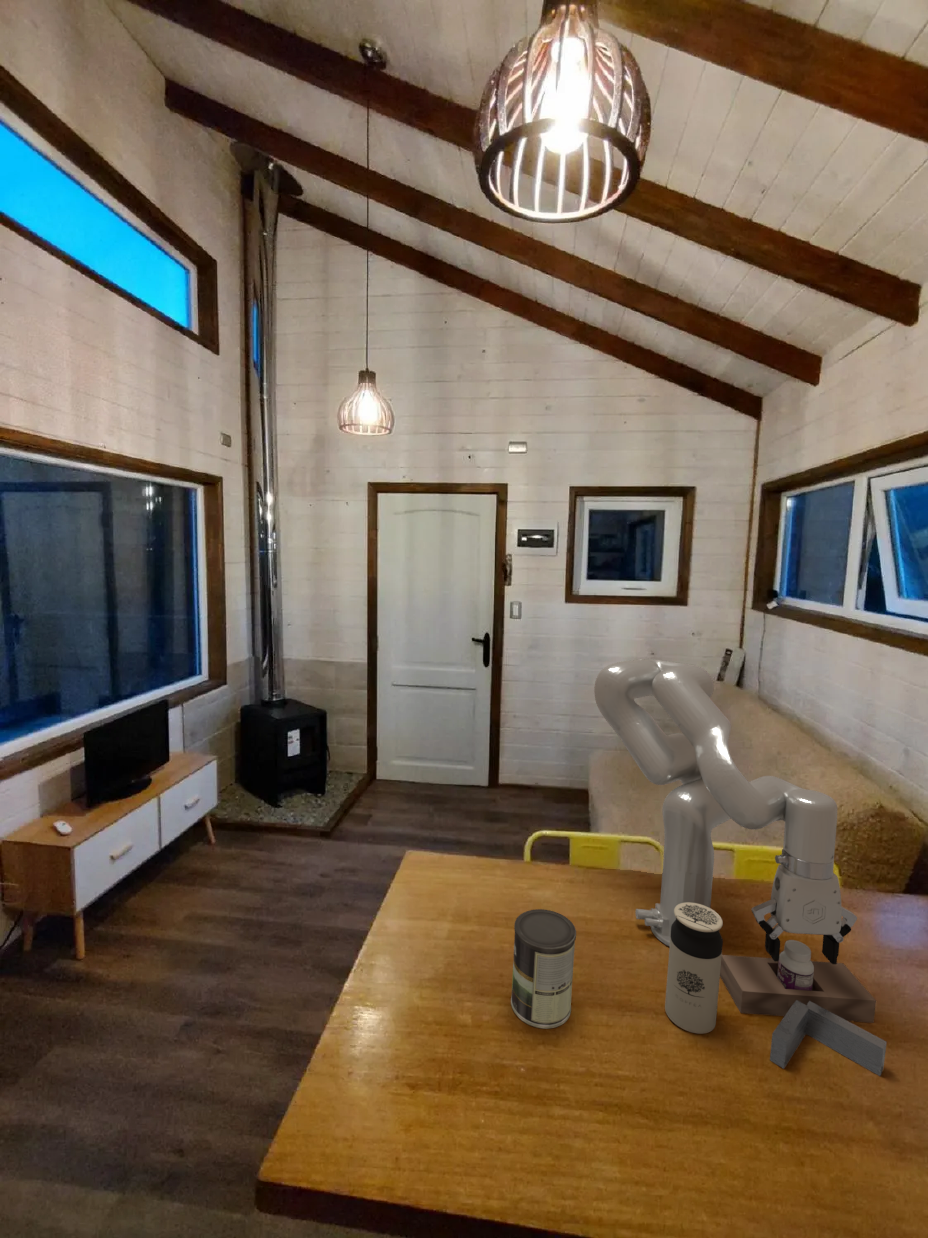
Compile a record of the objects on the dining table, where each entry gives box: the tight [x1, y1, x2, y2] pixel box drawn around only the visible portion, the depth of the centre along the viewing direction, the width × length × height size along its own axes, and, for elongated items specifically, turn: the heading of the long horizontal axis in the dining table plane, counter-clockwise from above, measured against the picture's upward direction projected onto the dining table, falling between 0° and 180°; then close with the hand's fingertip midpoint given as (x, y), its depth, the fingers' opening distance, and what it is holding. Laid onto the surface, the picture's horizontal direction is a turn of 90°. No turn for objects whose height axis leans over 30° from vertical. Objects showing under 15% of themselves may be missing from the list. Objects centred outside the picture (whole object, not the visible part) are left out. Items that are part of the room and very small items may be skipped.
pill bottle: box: [777, 939, 814, 991], centre depth 100 cm, size 5×5×10 cm
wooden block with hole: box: [720, 954, 877, 1024], centre depth 100 cm, size 22×9×4 cm, turn 87°
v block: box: [769, 1000, 888, 1077], centre depth 90 cm, size 17×9×4 cm, turn 87°
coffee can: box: [510, 908, 577, 1030], centre depth 96 cm, size 10×10×14 cm
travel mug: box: [664, 902, 724, 1034], centre depth 95 cm, size 8×8×18 cm
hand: (800, 957), depth 99 cm, fingers open, 9 cm apart
